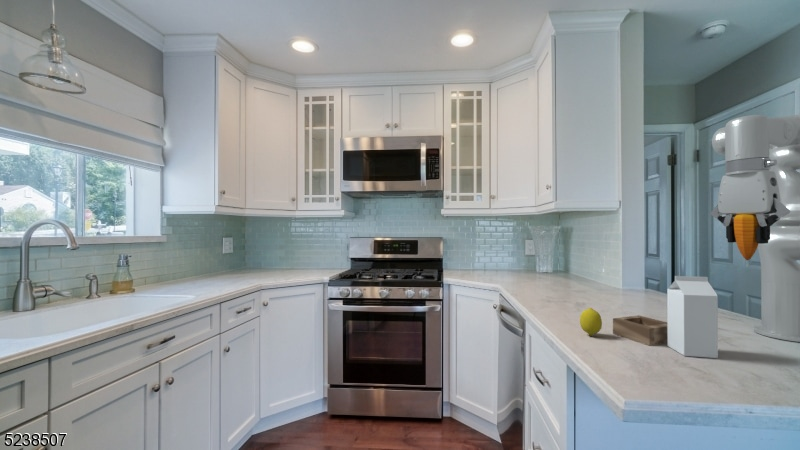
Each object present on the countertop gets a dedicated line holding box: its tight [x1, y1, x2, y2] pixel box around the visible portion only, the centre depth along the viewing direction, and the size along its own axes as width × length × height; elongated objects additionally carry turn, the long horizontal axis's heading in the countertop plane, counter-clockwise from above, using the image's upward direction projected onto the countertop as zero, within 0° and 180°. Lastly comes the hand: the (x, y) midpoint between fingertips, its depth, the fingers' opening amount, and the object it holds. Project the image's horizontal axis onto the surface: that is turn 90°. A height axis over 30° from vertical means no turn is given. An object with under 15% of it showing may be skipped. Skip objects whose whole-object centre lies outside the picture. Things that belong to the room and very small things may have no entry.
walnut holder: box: [612, 315, 668, 347], centre depth 97 cm, size 11×11×4 cm
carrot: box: [734, 214, 759, 261], centre depth 83 cm, size 5×5×15 cm
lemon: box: [579, 307, 603, 337], centre depth 98 cm, size 6×6×8 cm
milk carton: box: [666, 275, 719, 359], centre depth 85 cm, size 7×7×19 cm
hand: (747, 241), depth 83 cm, fingers closed on carrot, 4 cm apart
